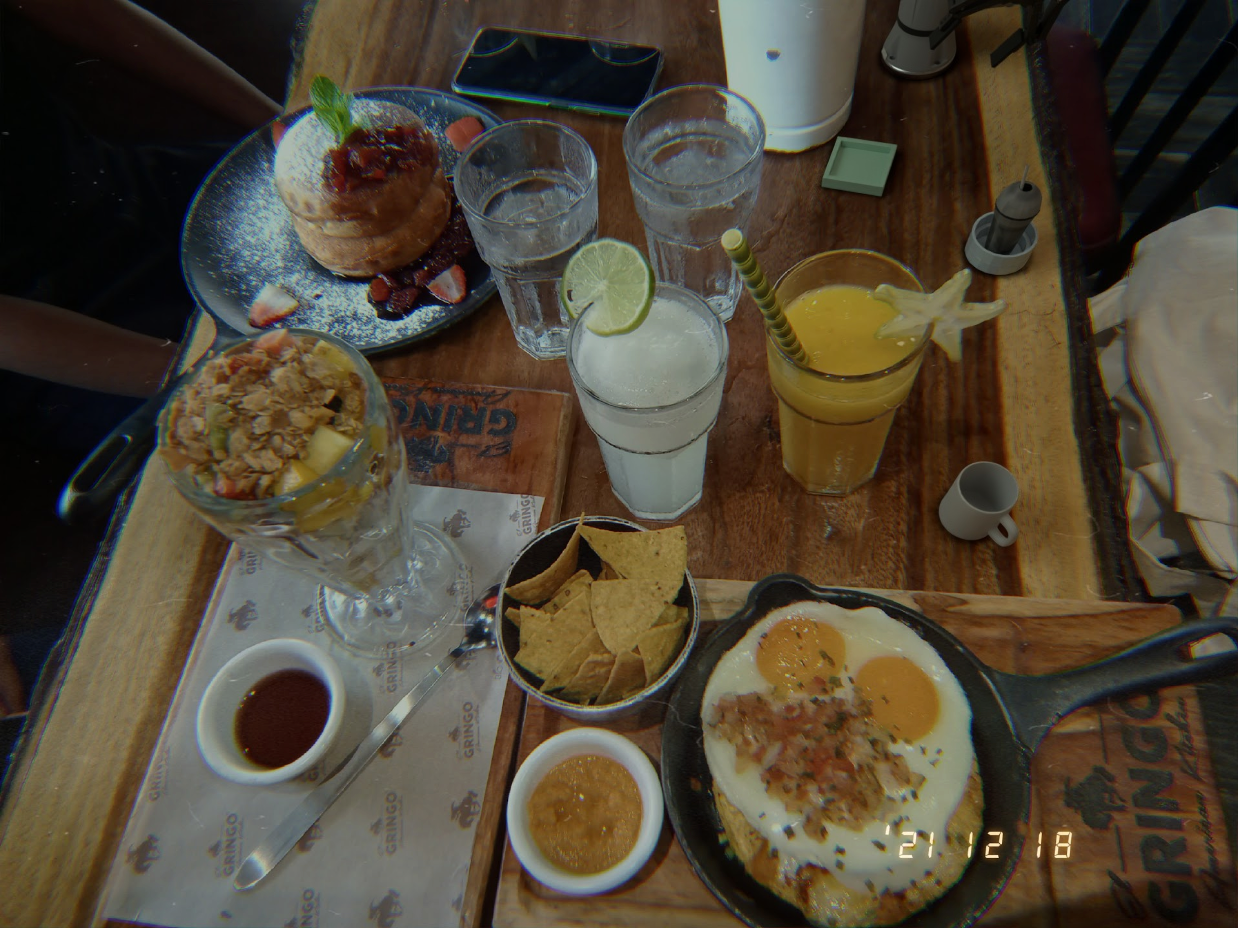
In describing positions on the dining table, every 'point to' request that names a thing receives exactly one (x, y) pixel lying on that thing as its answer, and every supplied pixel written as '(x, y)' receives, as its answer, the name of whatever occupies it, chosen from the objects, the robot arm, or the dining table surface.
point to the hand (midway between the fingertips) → (961, 52)
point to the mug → (981, 503)
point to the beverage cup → (1013, 215)
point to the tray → (859, 166)
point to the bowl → (998, 262)
